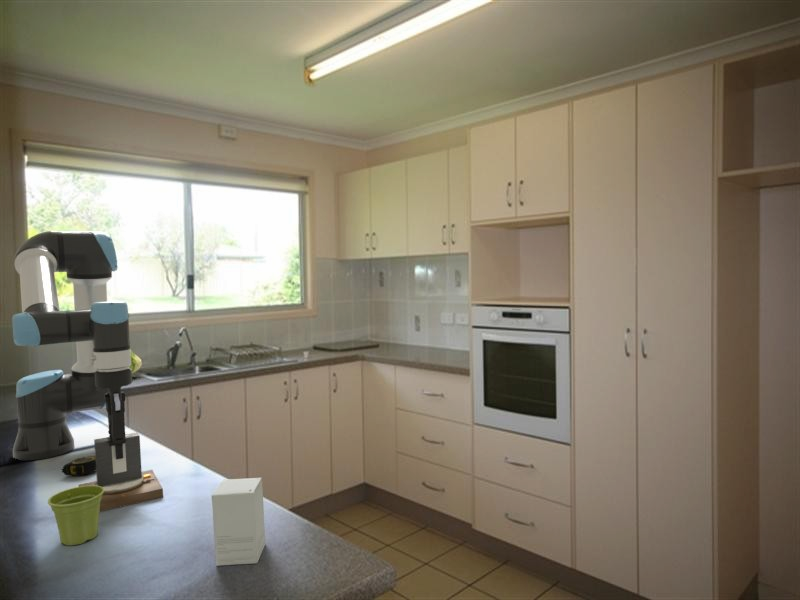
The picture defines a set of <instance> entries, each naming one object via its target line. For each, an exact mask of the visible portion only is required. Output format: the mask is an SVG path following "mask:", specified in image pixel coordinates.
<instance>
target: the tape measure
mask: <svg viewBox="0 0 800 600" xmlns="http://www.w3.org/2000/svg"><path fill="white" fill-rule="evenodd" d="M93 472H96V461H95V455H89V456H84V457H83V456H82V457H79V458H77V459H73V460H72V461H69V462H67V463H66V464H64V465H63V467H62V468H61V473H63V475H64V476H84V475H88V474H91V473H93Z"/></svg>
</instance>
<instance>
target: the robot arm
mask: <svg viewBox="0 0 800 600" xmlns="http://www.w3.org/2000/svg"><path fill="white" fill-rule="evenodd" d="M14 269H15V270H16V272H17V274H18V275H19V280H20V283H19V284H20V297H21V299H20V300H21V313H15V314H13V315H12V321H11V322H12V333H13V335H12V336H13V337H12V338H13V343H14V345H16V346H18V347H26V346H27V347H29V346H30V347H31V346H33V347H39V346H42V345H43V346H46V345H55V344H66V343H75V344H76V345H75V346H76V347H75V348H76V362H75V363H74V364H73V365H72V366H71V373H65V374H64V371H63V370H62V369H54V370H46V371H40V372H37V373H34V374H30V375H27V376H24V377H22V378H20V379H19V380H18V381H17V382H16V387H15V388H16V389H15V390H16V394H15V398H16V401H17V402H16V403H17V404H16V405H17V422H18V432H17V433H16V434H17V435H16V437H15V442H14V444H13V447H12V458H13V459H14V458H15V459H14V460H16V459H18V460H17V461H35V460H36V461H37V460H42V459H49V458H53V457H56V456H61V455H63V454H65V453H68V452H69V453H70V452H71V451H72V450H73V449H75V439H74V437H73V435H72V432H71V430H70V428H69V426H68V424H67V419H66V417H67V416H66V414H71V413H79V412H84V411H85V412H86V411H92V410H102V409H105V408H106V409H105V410H106V412H107V422H108V424H107V425H108V437H112V443H109V446H112V463H113V474H115V473H120V472H125V471H127V469H126V451H125V443H126V438H125V434H126V423H125V412H126V408H125V407H126V406H125V401H126V394H125V393H124V391H122V387H126V386H130V385H131V384H132V383H133V374H132V370H131V369H130V368H129V366H131V351H132V349H131V345H130V344H131V341H130V321H129V320H130V319H129V318H130V313H129V309H128V307H129V306H128V303H127V302H125V301H122V300H115V301H114V300H111V301H109V300H108V291H107V283H108V282H109V281H110V280H111V279H112V278H113V272H116V271H117V270H118V259H117V253H116V248H115V244H114V242H113V238H112V237H111V235H110V234H109V233H107V232H103V231H93V230H91V231H89V230H87V231H84V230H83V231H73V230H72V231H71V230H70V231H69V230H67V231H66V230H65V231H62V230H61V231H57V230H48V231H44V232H40V233H37V234H35V235H33V236H31V237H30V238H28V239H26V240H25V241H24V242H23V243H22V244H21V245H20V246H19V247H18V248H17V250H16V252H15V255H14ZM55 273H66V278H67V280H68V281H70V282H71V283H72V285H73V287H72V288H73V303H74V304H73V305H74V310H60V305H59V298H58V297H59V296H58V290H57V284H56V276H55Z"/></svg>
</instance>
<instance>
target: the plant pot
mask: <svg viewBox="0 0 800 600" xmlns="http://www.w3.org/2000/svg"><path fill="white" fill-rule="evenodd" d="M103 493H104V488H103V487H101V486H95V485H88V486H80V487H78V486H77V487H75V486H74V487H71V488H68V489H65V490H61V491H59V492H57V493H55V494H53V495H52V496H50V497H49V498H48V499H47V504H48V505H49V506H50V507H51V511H52V512H53V514H54V518H55V521H56V527H57V530H58V535H59V539H60V542H61V544H64V545H65V546H76V545H81V544H83V543H84V544H85V543H86V541H89V540H93V539H94V538H96V537H97V536H98V532H99V522H100V521H99V519H100V512H99V510H100V501H101V499H102V494H103Z"/></svg>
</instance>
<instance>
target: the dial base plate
mask: <svg viewBox="0 0 800 600" xmlns="http://www.w3.org/2000/svg"><path fill="white" fill-rule="evenodd" d="M142 474H143V475H147V474H150V475H151V478H148V479H144V482H143V483H142V484H141V485H140V486H138V487H137V488H134V489H132V490H129V491H125V492H121V493H114V494H102V499H101V501H100V510H99V511H101V512H104V511H103V510H105V511H108V510H107V509H109V510H112V508H114V509H117V508H116V507H118V508H121V507H120V506H122V507H125V506H124V505H127V506H130V504H131V505H134V504H138V503H143V502H147V501H152V500H156V499H159V498H160V499H161V498H164V489H163V485H161V483H160V481H159V479H158V477H157V476H156V473H155V472H154V470H153V469H148V470H144V471H143V470H142ZM96 482H97V480H95V481H89V482H85V483H80V484H77V485H78V486H77V487H80V486H88V485H95V483H96Z"/></svg>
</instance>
